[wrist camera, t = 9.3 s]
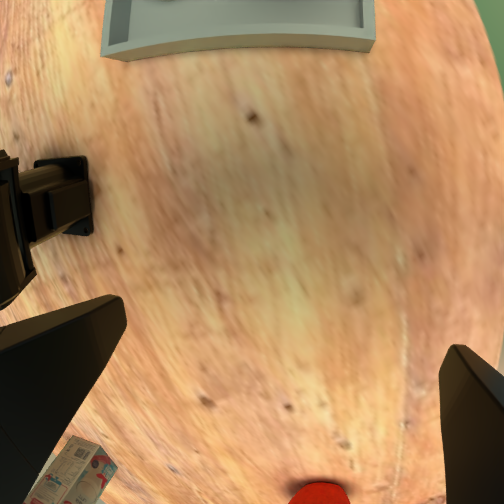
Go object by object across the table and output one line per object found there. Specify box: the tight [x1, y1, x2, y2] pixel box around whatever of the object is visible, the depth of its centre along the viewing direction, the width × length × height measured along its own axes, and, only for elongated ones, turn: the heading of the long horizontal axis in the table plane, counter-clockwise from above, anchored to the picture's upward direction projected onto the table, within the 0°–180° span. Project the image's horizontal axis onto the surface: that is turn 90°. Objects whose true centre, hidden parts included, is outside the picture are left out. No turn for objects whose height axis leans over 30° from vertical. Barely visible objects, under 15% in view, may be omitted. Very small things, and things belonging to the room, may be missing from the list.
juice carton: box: [23, 435, 118, 504], centre depth 32 cm, size 7×7×22 cm
